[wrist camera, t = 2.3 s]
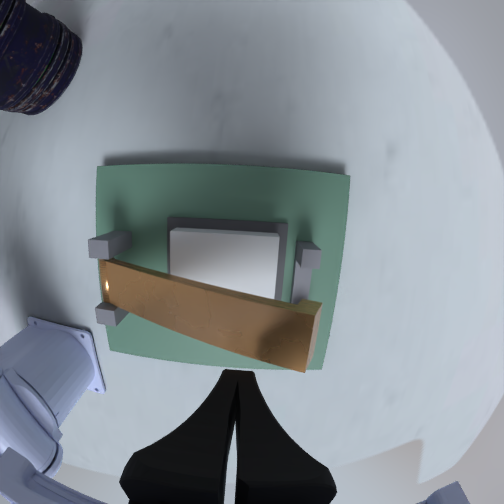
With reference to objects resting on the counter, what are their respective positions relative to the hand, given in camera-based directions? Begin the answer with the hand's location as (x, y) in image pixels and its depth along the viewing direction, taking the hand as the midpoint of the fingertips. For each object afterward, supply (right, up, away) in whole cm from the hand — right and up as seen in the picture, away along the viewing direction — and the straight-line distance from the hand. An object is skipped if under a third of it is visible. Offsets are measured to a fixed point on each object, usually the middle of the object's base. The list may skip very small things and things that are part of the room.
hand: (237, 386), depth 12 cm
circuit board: (-2, +5, +10) cm, 11 cm away
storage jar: (-20, +24, +6) cm, 32 cm away
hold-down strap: (-3, +3, +4) cm, 6 cm away
